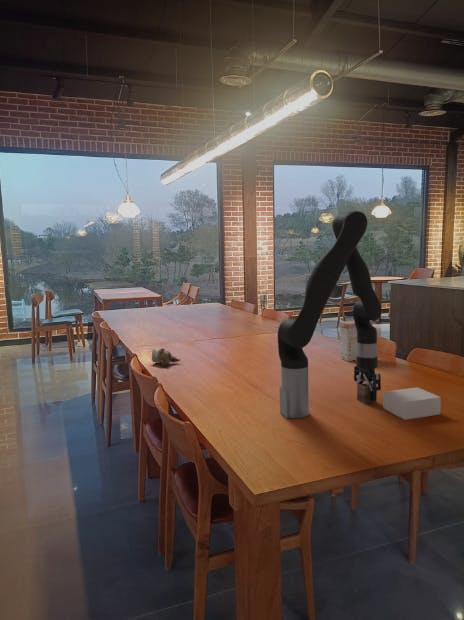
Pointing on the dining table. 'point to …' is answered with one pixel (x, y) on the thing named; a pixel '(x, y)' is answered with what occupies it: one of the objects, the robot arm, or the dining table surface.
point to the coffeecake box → (348, 340)
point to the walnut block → (364, 393)
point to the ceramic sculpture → (163, 357)
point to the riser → (411, 403)
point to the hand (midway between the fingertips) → (366, 397)
